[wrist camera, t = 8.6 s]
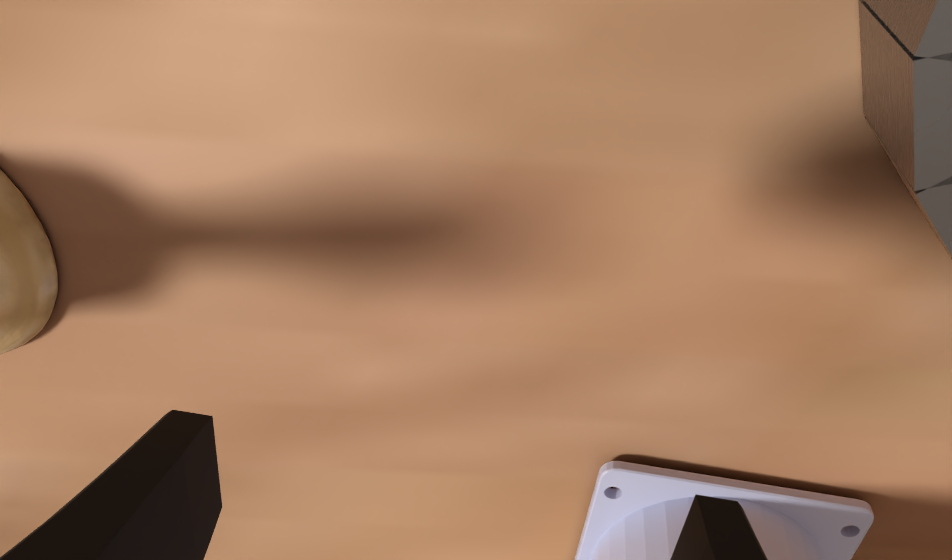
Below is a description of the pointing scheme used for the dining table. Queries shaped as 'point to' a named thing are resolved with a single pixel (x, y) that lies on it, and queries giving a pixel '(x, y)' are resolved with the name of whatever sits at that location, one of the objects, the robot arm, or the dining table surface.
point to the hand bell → (23, 270)
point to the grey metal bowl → (912, 97)
